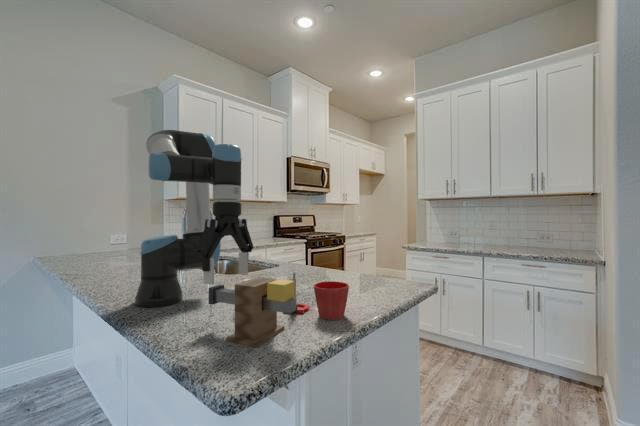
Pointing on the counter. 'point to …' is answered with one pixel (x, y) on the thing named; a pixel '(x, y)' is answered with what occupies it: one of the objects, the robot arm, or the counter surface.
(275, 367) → the counter surface
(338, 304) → the flower pot
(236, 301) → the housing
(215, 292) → the shaft
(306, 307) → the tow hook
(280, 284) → the block
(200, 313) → the counter surface
